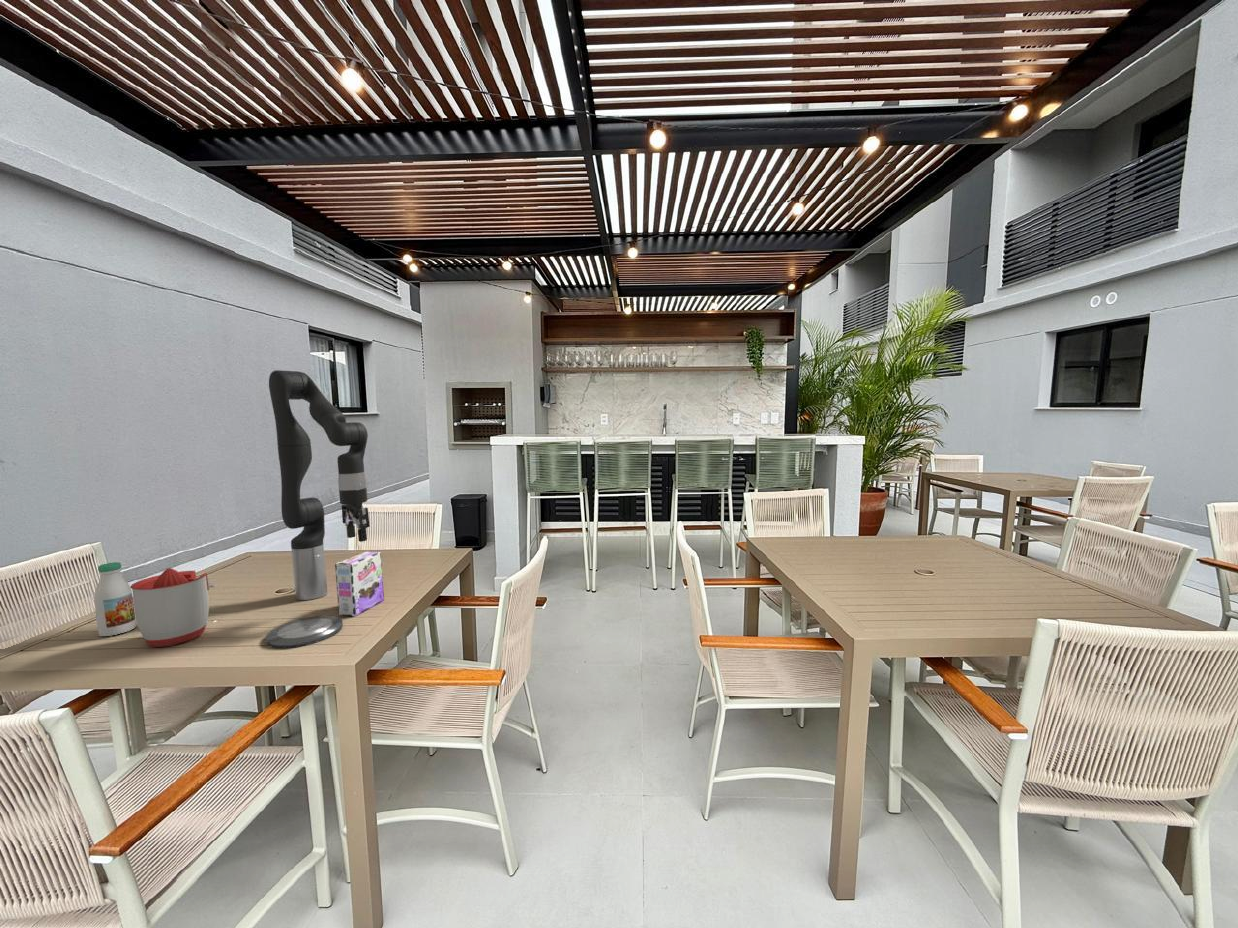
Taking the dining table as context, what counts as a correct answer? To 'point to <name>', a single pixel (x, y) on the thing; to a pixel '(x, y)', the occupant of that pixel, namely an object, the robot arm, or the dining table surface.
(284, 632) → the metal plate
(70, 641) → the dining table surface
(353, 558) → the candy box
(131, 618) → the milk bottle
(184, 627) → the citrus juicer
